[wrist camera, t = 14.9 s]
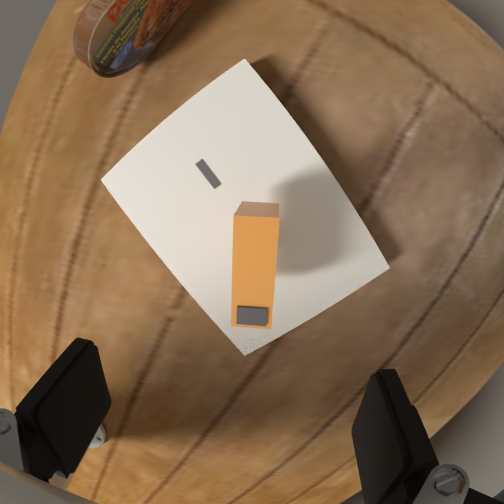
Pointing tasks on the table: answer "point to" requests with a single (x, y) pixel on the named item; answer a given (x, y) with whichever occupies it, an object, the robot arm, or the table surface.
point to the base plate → (230, 197)
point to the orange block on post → (254, 264)
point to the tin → (122, 32)
